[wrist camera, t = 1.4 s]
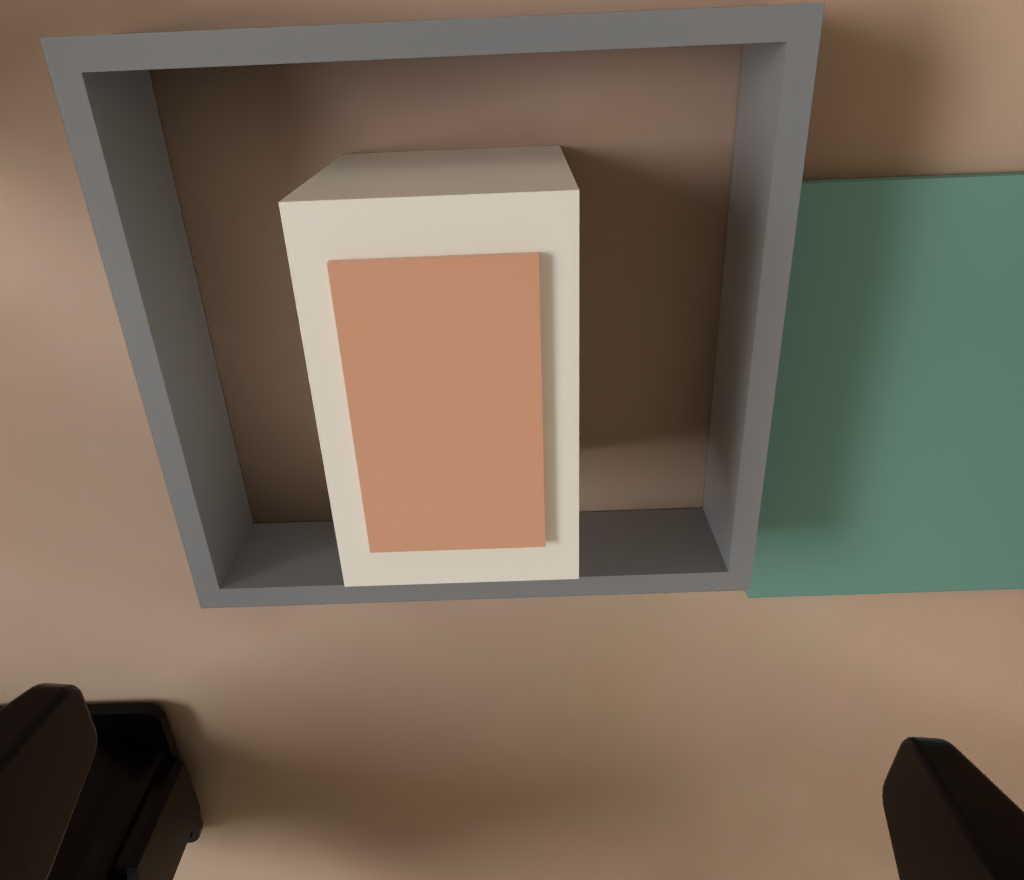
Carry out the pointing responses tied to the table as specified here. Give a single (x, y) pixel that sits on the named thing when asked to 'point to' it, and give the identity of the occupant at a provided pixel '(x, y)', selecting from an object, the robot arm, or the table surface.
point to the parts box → (444, 360)
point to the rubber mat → (899, 392)
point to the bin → (189, 353)
